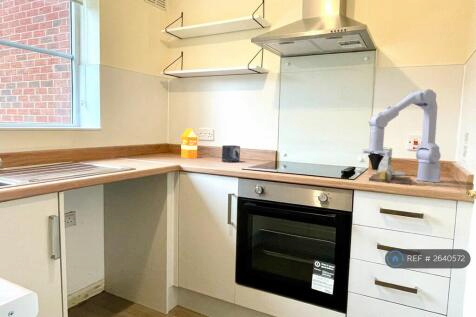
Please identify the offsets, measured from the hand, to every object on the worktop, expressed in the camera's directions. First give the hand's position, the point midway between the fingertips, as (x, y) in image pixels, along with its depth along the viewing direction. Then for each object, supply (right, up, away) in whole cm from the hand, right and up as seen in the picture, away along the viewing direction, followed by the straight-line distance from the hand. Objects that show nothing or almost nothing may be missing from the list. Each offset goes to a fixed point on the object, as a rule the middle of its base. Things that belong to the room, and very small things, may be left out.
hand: (374, 169), depth 153 cm
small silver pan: (+7, -4, +1) cm, 8 cm away
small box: (-70, +3, +57) cm, 90 cm away
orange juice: (-99, +6, +73) cm, 124 cm away
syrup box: (+15, -3, +25) cm, 29 cm away
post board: (+9, -5, +3) cm, 11 cm away
